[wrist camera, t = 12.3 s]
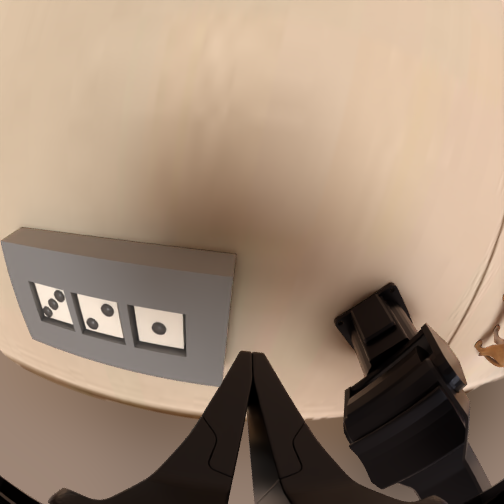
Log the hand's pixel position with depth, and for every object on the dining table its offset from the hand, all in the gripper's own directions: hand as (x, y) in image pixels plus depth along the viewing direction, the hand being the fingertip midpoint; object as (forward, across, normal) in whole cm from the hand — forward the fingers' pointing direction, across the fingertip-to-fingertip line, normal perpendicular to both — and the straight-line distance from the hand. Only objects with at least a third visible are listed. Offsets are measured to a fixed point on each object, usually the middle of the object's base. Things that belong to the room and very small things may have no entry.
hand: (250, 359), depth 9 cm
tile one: (+11, +6, +8) cm, 15 cm away
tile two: (+11, +12, +8) cm, 18 cm away
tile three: (+11, +18, +8) cm, 22 cm away
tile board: (+12, +12, +8) cm, 19 cm away
